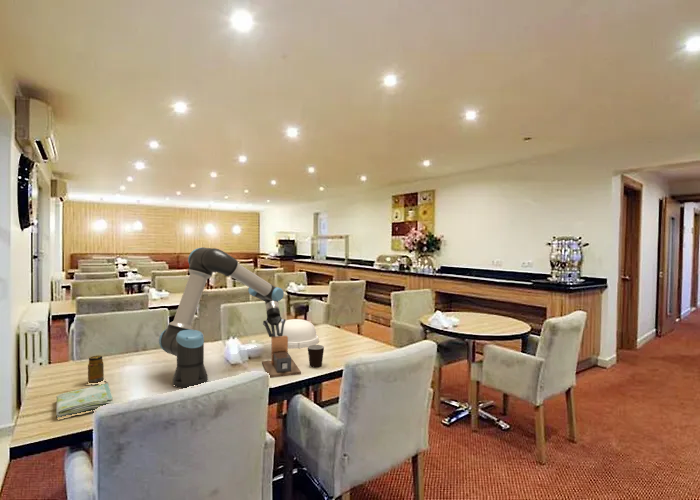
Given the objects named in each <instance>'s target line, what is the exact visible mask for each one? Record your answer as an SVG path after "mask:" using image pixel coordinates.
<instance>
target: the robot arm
mask: <svg viewBox="0 0 700 500" xmlns="http://www.w3.org/2000/svg"><path fill="white" fill-rule="evenodd" d="M187 258H188V259H187V263H188V265H189V266H188V269H187V271H188V273H189V276H188V279H187V281H186V285H185V286H184V287H185V288H184V289H183V294H182V296H181V298H180V301H179V304H178V307H177V310H176V312H175V315H174V318H173V321H171V322H169V323H168V324H167V328H165V329H164V330H163V331H162V332H161V333H160V334H159V335H160V336H159V338H158V344H159V347H160V348H161V350H163V351H164V352H165V353H167V354H169V355H172V356H175V357H176V368H175V371H174V374H173V379H172V386H173V385H175V386H177V387H176V388H178V387H181V388H180V389H186V388H185V387H189V386H194V385H198V384H201V383H204V382H206V383H207V382H208V381H207V380H209V377H208V376H209V375H208V372H207V369H206V367H205V364H204V363H205V361H204V356H205V354H204V351H205V350H204V348H205V347H204V346H205V345H204V343H205V339H204V334H203V332H202V331H200V330H197V329H194V328H193V326H192V325H193V322H194V318H195V316H196V313H197V310H198V307H199V304H200V300H201V298H202V295H203V293H204V289H205V286H206V284H207V281H208V279H210V278H212V276H213V273H214V272H215V273H218V274H222V275H223V276H225V277H230V278H232V279H234V280H236V281H238V282H240V283H241V284H243V285H244V286H246V287H248V291H247V292H248V293H249V295H250V296H252V297H254V298H256V299H258V300H261V301H264V303H265V311H266V320H263V322H262V325H263V326H264V327H265V330H266V332H267V336H269V338H271V337H275V330H276V331H277V335H276V336H282V335H283V329H284V324H285V321H286V320H287V319H285V318H284V319H283V317H281V312H280V311H281V309H280V305H279V301H281V300H283V298H284V295H285V293H284V289H283V288H281V287H277V286H274V285H273V284H271V283H270V282H268V281H266V280H265V279H264V278H262V277H260V276H259V275H257V274H256V273H254V272H253V271H251V270H249V269H248V268H246V267H245V266H243V265H242V264H240V263H239V261H238V260H237V259H236V258H235V257H233V256H231V255H230V254H229V253H227V252H225V251H224V250H221V249H219V248H215V247H198V248H195V249H193V250H192V251H191V252H190V254H188V257H187ZM280 323H282V326H281V333H280V331H279V324H280ZM175 386H174V387H175Z"/></svg>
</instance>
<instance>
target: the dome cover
mask: <svg viewBox="0 0 700 500" xmlns="http://www.w3.org/2000/svg"><path fill="white" fill-rule="evenodd" d="M285 320H286V321H285V324H284V329H283V335H282V336H287V337H288V349H299V350H300V349H305V348H308V346H310V345H318V344H319V342H320V340H319V338H320V337H319V336H318V334H317V330H316V327H315V325H314V324H313V323H312V322H311V321H309V320H306V319H301V318H293V319H291V318H290V319H285ZM281 326H282V323H281V322H280V323H279V331H280V333H281ZM276 335H277V331H276V329H275V336H276Z"/></svg>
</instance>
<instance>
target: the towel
mask: <svg viewBox="0 0 700 500" xmlns="http://www.w3.org/2000/svg"><path fill="white" fill-rule="evenodd" d="M111 401H113V396H112V392H111V389H110V386H109V382H107V383H106V384H101V385H92V386H90V387H89V386H88V387H86V388H81V389H76V390H72V391H68V392H64V393H60V394H58V395H56V407H55V409H56V410H55V412H56V413H55V416H56V415H57V418H58V417H62V416H66V415H72V414H77V413H81V412H86V411H91V410H92V411H93V410H95V409H97V408H98V407H100V406H103V405H106V404H111V405H112V403H111ZM57 418H56V419H57Z"/></svg>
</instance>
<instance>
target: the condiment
mask: <svg viewBox="0 0 700 500" xmlns="http://www.w3.org/2000/svg"><path fill="white" fill-rule="evenodd" d="M104 373H105V371H104V361H103V356H102V355H93V356H90V357H89V358H88V364H87V383H88V382H89V383H98V382H101V381H103V380H104V379H105V377H104Z"/></svg>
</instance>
